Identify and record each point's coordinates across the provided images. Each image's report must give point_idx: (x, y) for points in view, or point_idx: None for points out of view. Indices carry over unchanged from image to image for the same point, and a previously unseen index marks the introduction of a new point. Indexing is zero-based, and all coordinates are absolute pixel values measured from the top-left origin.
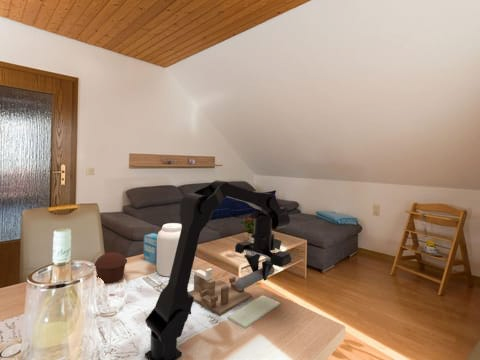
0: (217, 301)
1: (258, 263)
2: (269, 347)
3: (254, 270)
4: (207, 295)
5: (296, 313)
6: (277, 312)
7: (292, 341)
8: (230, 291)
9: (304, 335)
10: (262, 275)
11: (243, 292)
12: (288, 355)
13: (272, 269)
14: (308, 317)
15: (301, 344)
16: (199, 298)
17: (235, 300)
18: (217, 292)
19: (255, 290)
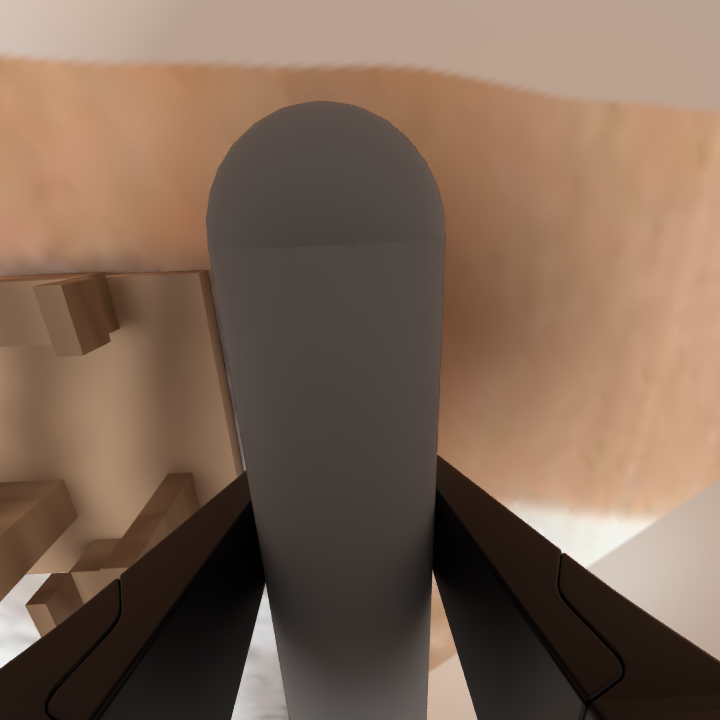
0: (139, 507)
1: (159, 639)
2: (573, 535)
3: (249, 631)
4: (78, 575)
5: (582, 198)
6: (468, 292)
7: (648, 444)
8: (60, 365)
9: (692, 366)
10: (431, 587)
11: (129, 300)
12: (659, 518)
13: (439, 279)
14: (674, 176)
15: (693, 432)
16: (48, 555)
17: (195, 423)
18: (27, 442)
19: (129, 145)
